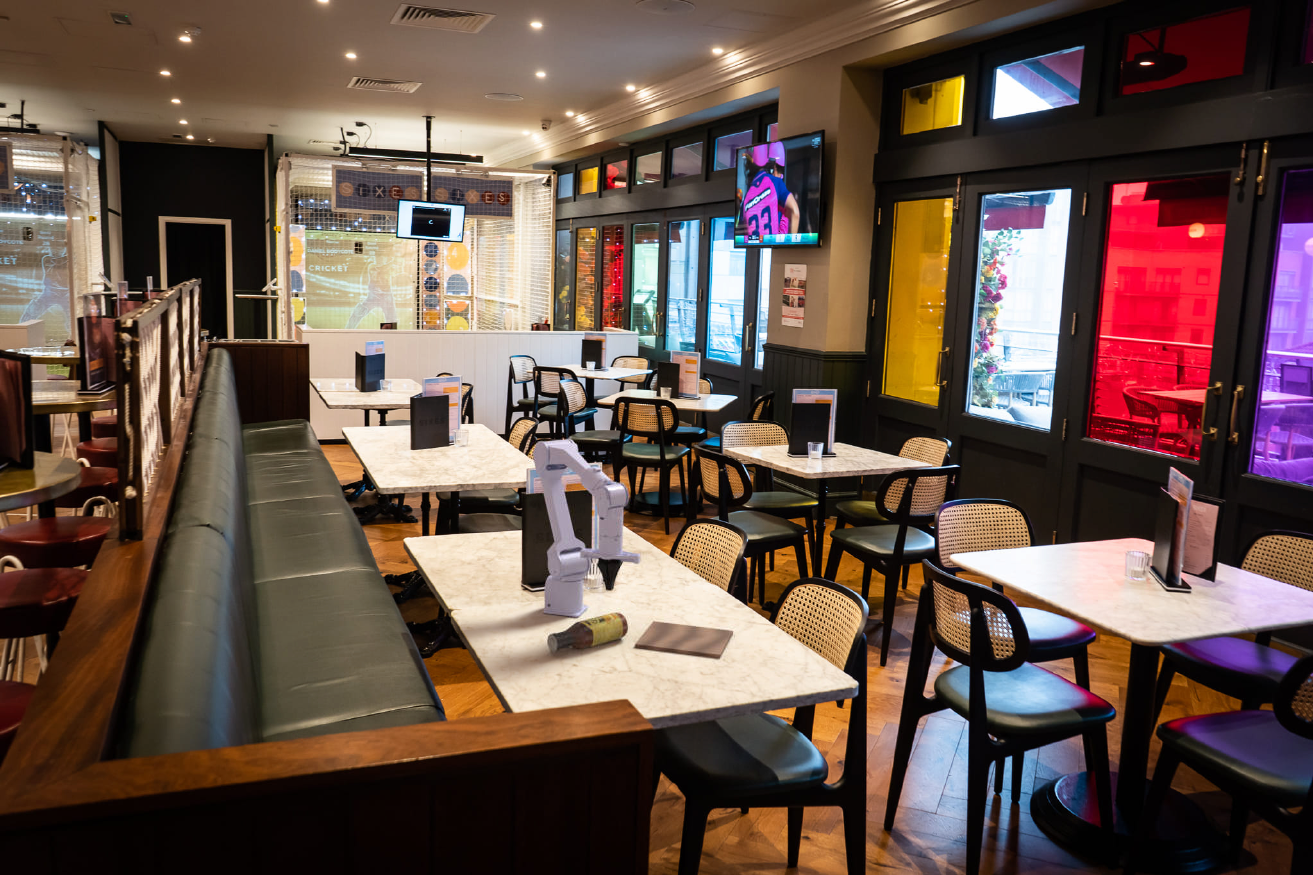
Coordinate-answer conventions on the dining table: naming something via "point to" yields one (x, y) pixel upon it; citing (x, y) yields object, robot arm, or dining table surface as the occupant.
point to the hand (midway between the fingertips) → (609, 589)
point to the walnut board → (685, 639)
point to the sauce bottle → (590, 632)
